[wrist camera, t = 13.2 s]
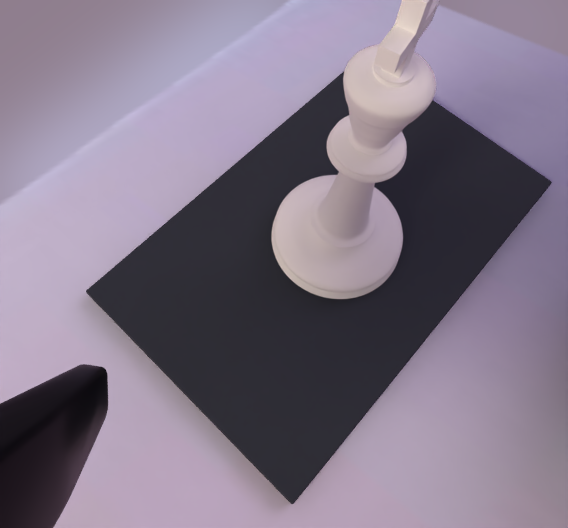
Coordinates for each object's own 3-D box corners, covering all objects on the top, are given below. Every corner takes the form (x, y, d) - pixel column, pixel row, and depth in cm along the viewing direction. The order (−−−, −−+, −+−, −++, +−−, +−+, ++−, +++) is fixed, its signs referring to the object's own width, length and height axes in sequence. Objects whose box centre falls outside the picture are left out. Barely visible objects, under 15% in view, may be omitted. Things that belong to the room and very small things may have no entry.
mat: (291, 502, 14) (292, 505, 14) (89, 295, 16) (84, 290, 16) (545, 188, 19) (552, 181, 18) (362, 61, 21) (364, 52, 21)
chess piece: (246, 254, 17) (222, 15, 7) (313, 162, 18) (364, -129, 9) (361, 325, 16) (499, 155, 6) (421, 221, 17) (600, -32, 8)
